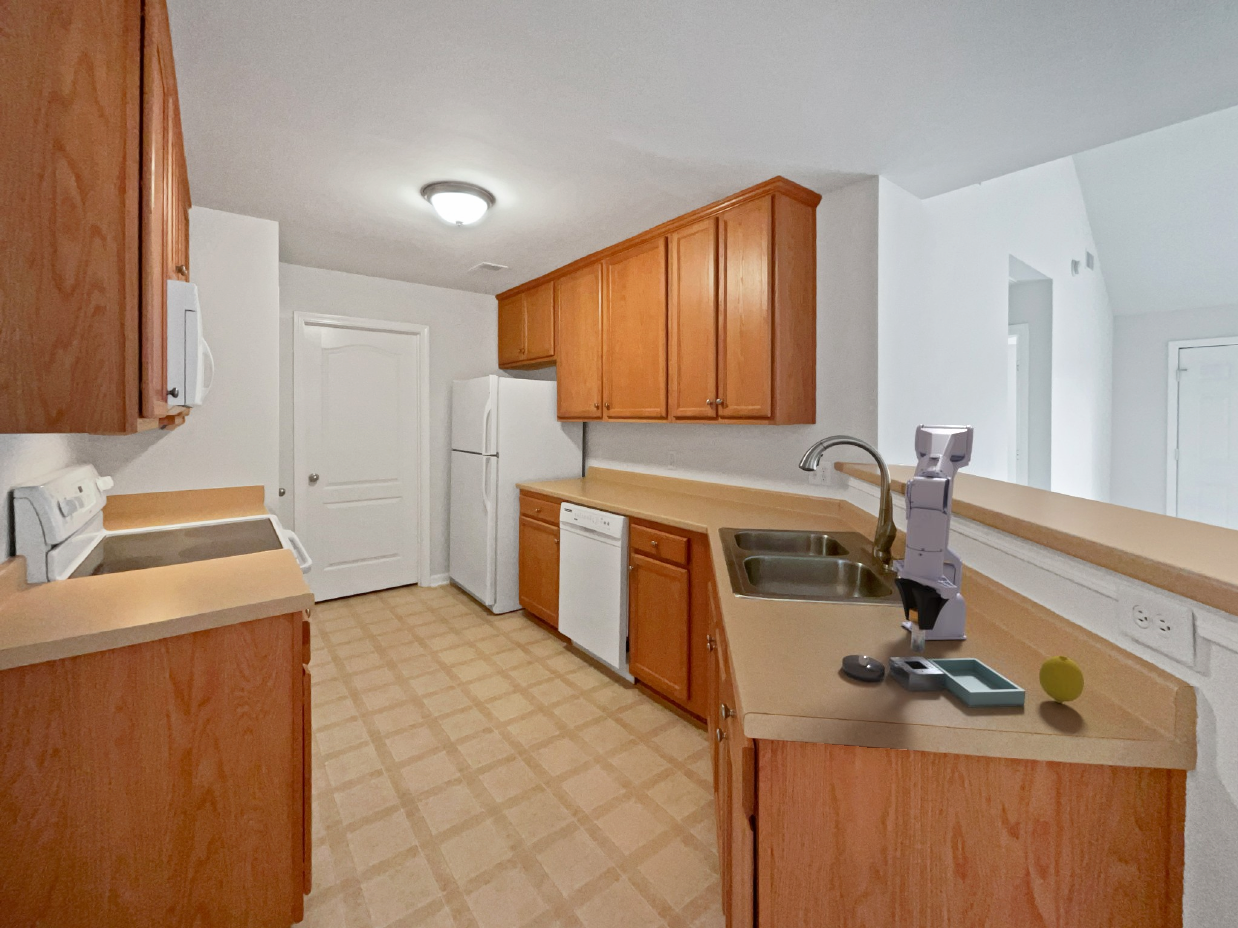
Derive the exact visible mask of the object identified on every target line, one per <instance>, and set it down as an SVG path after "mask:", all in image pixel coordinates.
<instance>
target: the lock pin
mask: <svg viewBox="0 0 1238 928" xmlns="http://www.w3.org/2000/svg"><path fill="white" fill-rule="evenodd" d="M909 620H910V621H909V622H911V621H912V622H913V623H912V632H911V638H910V639H911V641H910V650H912V651H913V652H918V653H923V652H925V644H926V643H925V641H926V640H925V630H921V629H920V628H919V626H918V609H917V607H911V608H910V609H909Z"/></svg>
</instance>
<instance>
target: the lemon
mask: <svg viewBox="0 0 1238 928" xmlns="http://www.w3.org/2000/svg"><path fill="white" fill-rule="evenodd" d="M1084 681H1085V680H1084V674H1083V672H1082V670H1081V668H1080V666H1079V665H1078V664H1076V662H1074V661H1073V660H1072V659H1070V658H1068V657H1067V656H1066V655H1062V654H1061V655H1055V656H1054V655H1053V656H1050V657H1048V658H1047V659H1046V660H1045V661H1043V663H1042V664H1041V667H1040V670H1039V684H1040V686H1041V689H1043V691H1044V693H1045V694H1047V695H1048V696H1049V697H1050V698H1052V699H1053V700H1054V701H1055V702H1056V703H1057V704H1062V703H1065V702H1073V701H1075V700H1077V699H1078V698H1079V697H1080V696H1081V695H1082V692H1083V690H1084V688H1085V687H1084V684H1085V682H1084Z"/></svg>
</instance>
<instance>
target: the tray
mask: <svg viewBox="0 0 1238 928" xmlns="http://www.w3.org/2000/svg"><path fill="white" fill-rule="evenodd" d="M925 659H926V660H927V661H928V662H930V663H931V664H932V665H934V666H935V667H936V668H938V669H939V670H940V671H942V672H943V673H944V682H943V688H945V690H947V691H948V692H950V693H951V695H953V696H955V697H956V698H957V699H958V700H959V701H961V702H962V703H963V704H965V705H966V706H968V707H969V708H984V707H987V708H989V707H1020V706H1021V707H1022V706H1023V707H1024V706H1025V701H1026V690H1025V689H1024V688H1022V687H1020V686H1019V685H1017V684H1016V683H1015V682H1013V681H1012V680H1009V679H1008V678H1006V677H1005V676H1004V675H1003V674H1000V673H999V672H998V671H996V670H995V669H994V668H992V667H990V666H989V665H987V664H986V663H984V662H983V661H981V660H980V659H978V658H976V657H959V658H956V657H955V658H951V657H950V658H925Z"/></svg>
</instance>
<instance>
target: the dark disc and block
mask: <svg viewBox="0 0 1238 928" xmlns="http://www.w3.org/2000/svg"><path fill="white" fill-rule="evenodd" d="M926 659H927V658H925V657H923V656H900V657H899V656H898V657H897V656H896V657H893V656H892V657H891V656H890V657H889V665H888V674H889V675H890V676H891V677H892V678H893V679H895V681H897V683H899V684H900V685H901V686H902V687H903V688H904V689H905V690H906V691H908V692H924V691H925V692H926V691H927V692H929V691H930V692H931V691H932V692H933V691H943V690H944V687H943V682H944V673H943V672H942V671H940V670H939V669H938V668H936V667H935V666H934V665H932V664H931V663H930V662H928V661H927V660H926ZM841 664H842V665H841V671H842V673H844V675H846V676H848V678H851V679H853V680H856V681H860V682H864V683H879V682H883V681H884V679H885V676H886V666H885V665H884V663H882V662H881V661H880V660H878V659H876V658H873V657H869V656H868V655H867V654H850V655H846V656H844V657H843V658H842V663H841Z"/></svg>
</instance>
